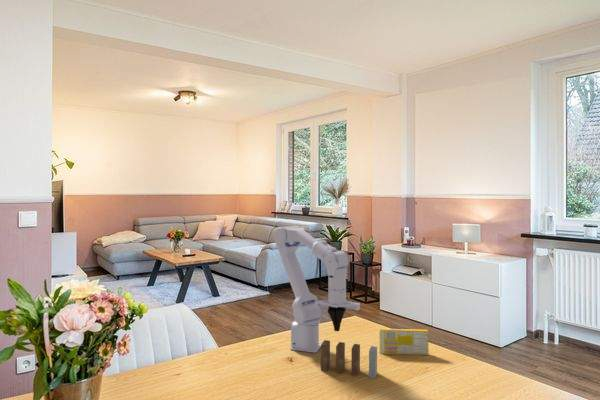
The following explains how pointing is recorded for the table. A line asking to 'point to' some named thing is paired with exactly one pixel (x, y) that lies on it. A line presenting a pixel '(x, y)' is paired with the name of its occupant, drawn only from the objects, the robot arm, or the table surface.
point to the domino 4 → (372, 362)
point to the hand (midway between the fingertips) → (337, 330)
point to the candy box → (403, 341)
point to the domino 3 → (355, 360)
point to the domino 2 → (340, 357)
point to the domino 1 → (325, 355)
